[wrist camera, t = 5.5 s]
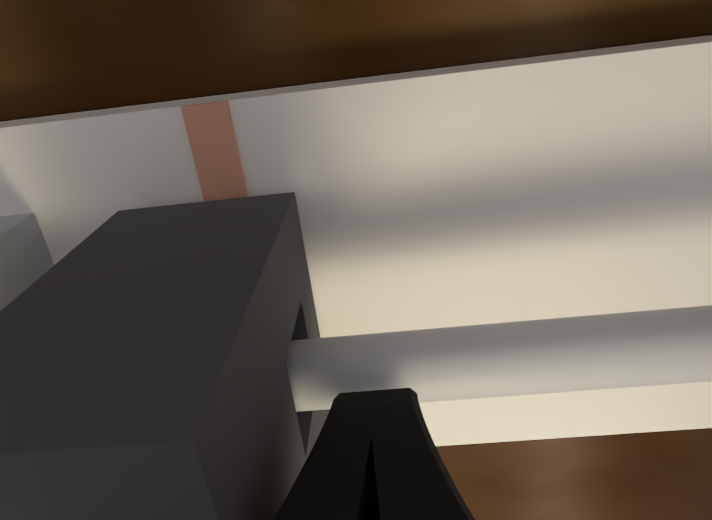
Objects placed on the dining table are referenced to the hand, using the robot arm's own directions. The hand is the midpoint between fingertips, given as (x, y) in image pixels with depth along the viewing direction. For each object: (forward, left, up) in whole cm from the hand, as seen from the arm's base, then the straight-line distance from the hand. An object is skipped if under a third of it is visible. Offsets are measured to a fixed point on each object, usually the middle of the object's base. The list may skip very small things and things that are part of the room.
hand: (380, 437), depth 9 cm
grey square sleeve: (+3, 0, -4) cm, 6 cm away
